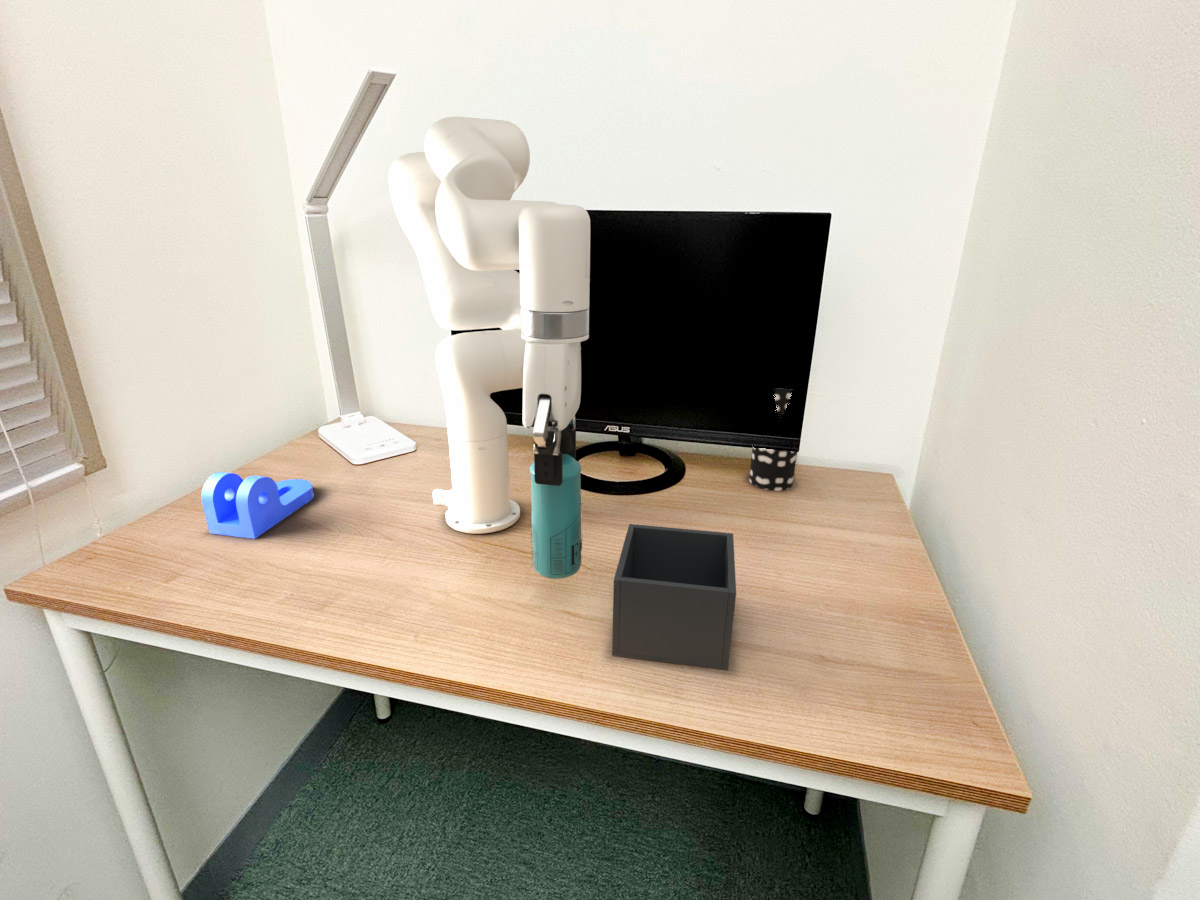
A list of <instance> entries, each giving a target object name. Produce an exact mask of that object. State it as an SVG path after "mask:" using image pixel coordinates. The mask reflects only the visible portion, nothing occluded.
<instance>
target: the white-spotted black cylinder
mask: <svg viewBox="0 0 1200 900" xmlns="http://www.w3.org/2000/svg"><path fill="white" fill-rule="evenodd" d="M775 389H776V390H775ZM775 389H774V390H775V391H776V392H775V391H774V392H775V394H774V395H775V396H776V397H775V396H774V395H773V396H774V397H775V398H774V399H775V404H776V408H777V409H776V410H777V413H778V412H779V413H780V412H781V413H780V414H782V415H783V414H784V413H785V412H786V411H785V410H786V408H787V404H788V403H789V402H790V401H789V400H790V399H791V398H790V397H791V396H792V395H791V394H792V392H791V391H792V390H793V389H786V388H785V389H784V388H775ZM790 392H791V393H790ZM788 401H789V402H788ZM777 404H778V405H777ZM789 404H790V403H789ZM789 404H788V405H789ZM777 406H778V407H777ZM776 410H775V411H776ZM784 411H785V412H784ZM775 413H776V412H775ZM779 413H778V414H779ZM778 416H779V415H778ZM780 416H781V415H780ZM780 418H781V417H780ZM797 456H798V451H797V452H792V451H784V450H773V449H766V448H754V447H753V446H752V448H751V457H750V467H749V475H748V476H749V477H748V481H749V483H750V484H752V486H754V487H757V488H759V489H761V490H766V491H776V492H781V491H786V490H789V489H791V488H792V487H793V485H794V478H795V471H796V463H797V458H798V457H797Z"/></svg>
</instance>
